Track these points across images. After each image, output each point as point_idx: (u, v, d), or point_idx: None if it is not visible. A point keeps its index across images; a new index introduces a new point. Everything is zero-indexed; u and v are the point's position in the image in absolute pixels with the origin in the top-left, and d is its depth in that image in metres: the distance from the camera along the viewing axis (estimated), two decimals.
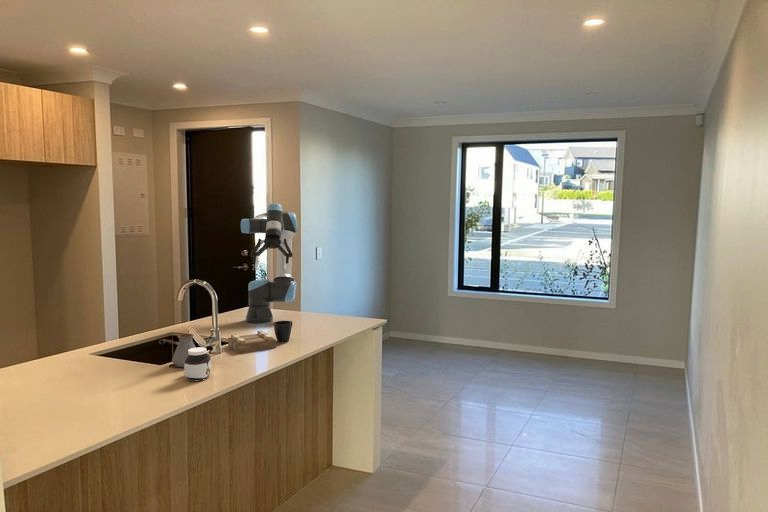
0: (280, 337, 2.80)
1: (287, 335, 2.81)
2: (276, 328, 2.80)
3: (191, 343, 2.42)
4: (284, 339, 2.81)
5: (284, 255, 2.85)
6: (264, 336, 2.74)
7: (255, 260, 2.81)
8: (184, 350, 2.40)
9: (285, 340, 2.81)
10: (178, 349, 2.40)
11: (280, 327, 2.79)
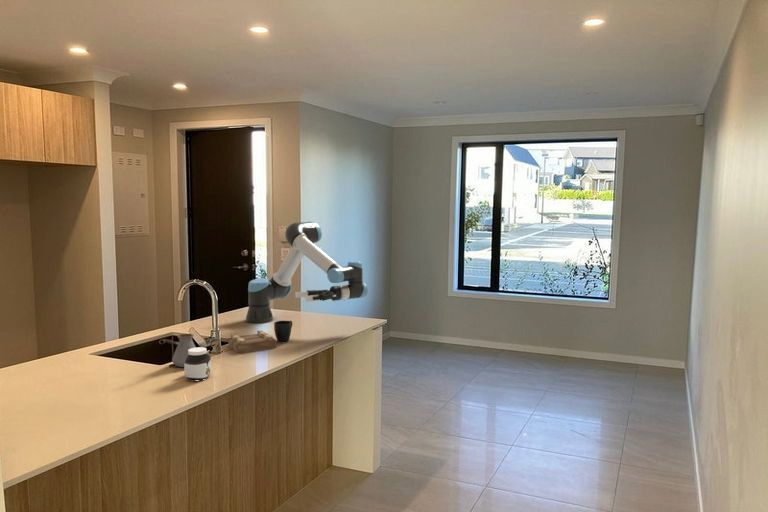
0: (280, 337, 2.80)
1: (287, 335, 2.81)
2: (276, 328, 2.80)
3: (191, 343, 2.42)
4: (284, 339, 2.81)
5: (310, 291, 2.97)
6: (264, 336, 2.74)
7: None
8: (184, 350, 2.40)
9: (285, 340, 2.81)
10: (178, 349, 2.40)
11: (280, 327, 2.79)
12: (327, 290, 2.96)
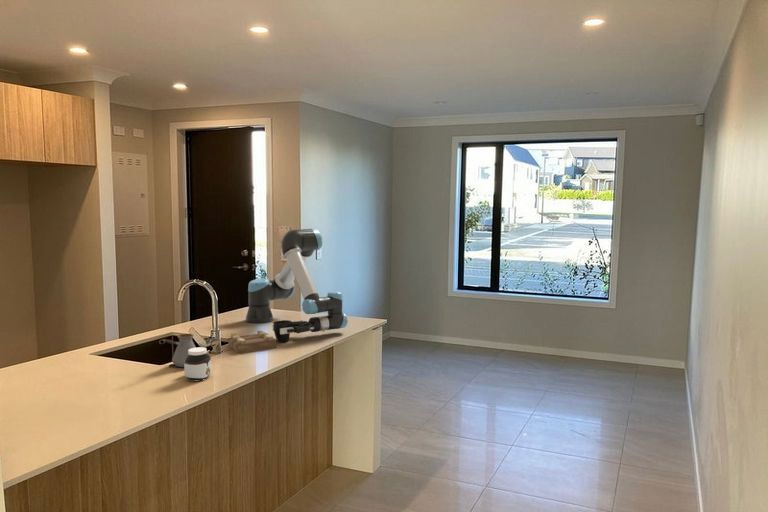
0: (280, 336, 2.80)
1: (287, 334, 2.81)
2: (275, 327, 2.80)
3: (191, 343, 2.42)
4: (284, 338, 2.81)
5: None
6: (264, 336, 2.74)
7: None
8: (184, 350, 2.40)
9: (285, 339, 2.81)
10: (178, 349, 2.40)
11: (279, 326, 2.79)
12: (306, 321, 2.92)
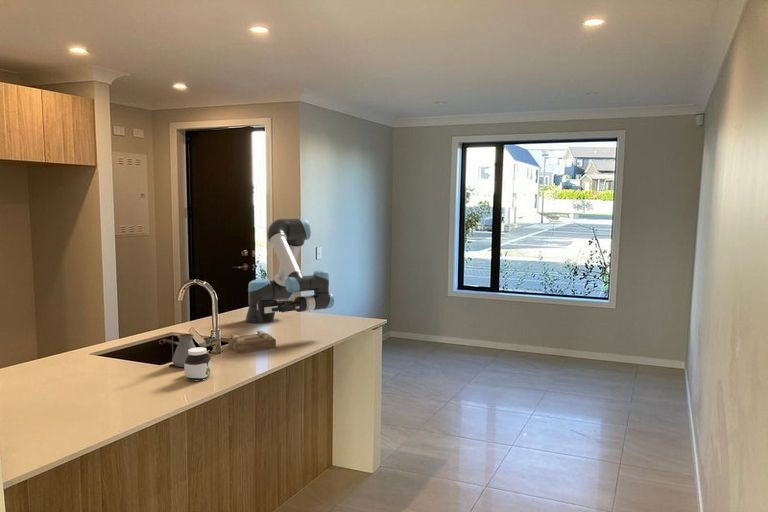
0: (264, 315, 2.72)
1: (271, 313, 2.73)
2: (260, 306, 2.72)
3: (191, 343, 2.42)
4: (269, 317, 2.73)
5: None
6: (264, 336, 2.74)
7: (273, 311, 2.72)
8: (184, 350, 2.40)
9: (270, 318, 2.73)
10: (178, 349, 2.40)
11: (264, 304, 2.71)
12: (292, 301, 2.84)
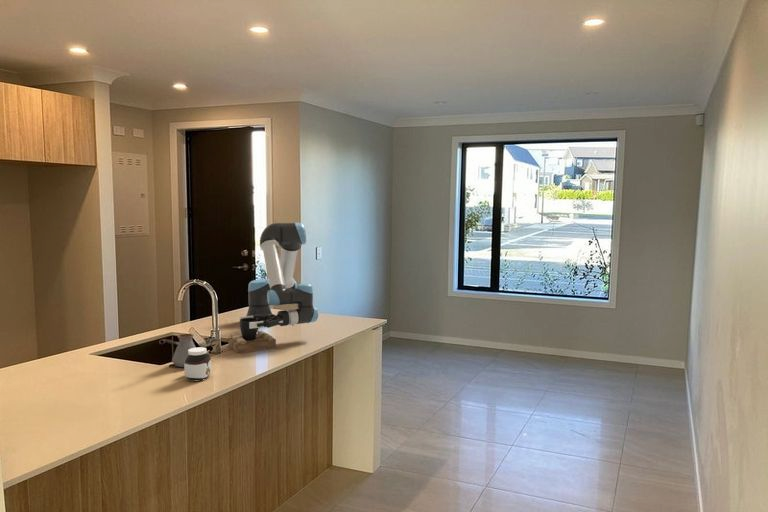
0: (246, 335, 2.68)
1: (253, 333, 2.69)
2: (241, 325, 2.68)
3: (191, 343, 2.42)
4: (250, 337, 2.69)
5: (256, 316, 2.80)
6: (264, 336, 2.74)
7: None
8: (184, 350, 2.40)
9: (251, 338, 2.69)
10: (178, 349, 2.40)
11: (245, 324, 2.67)
12: (274, 315, 2.79)
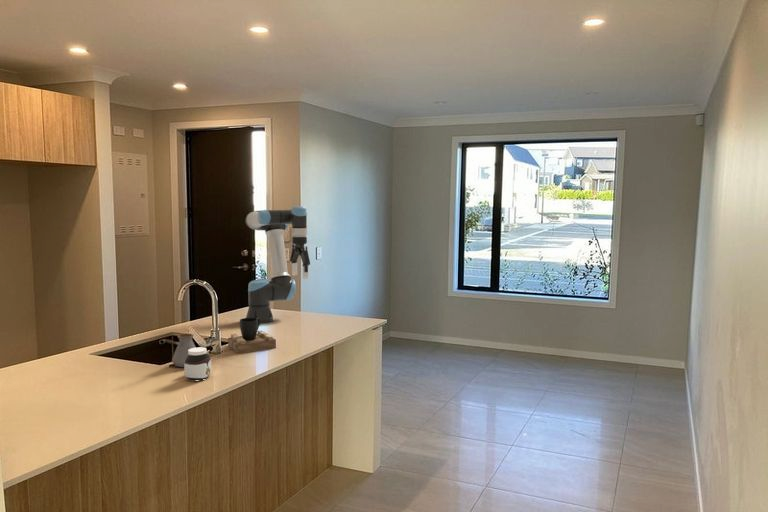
0: (246, 335, 2.68)
1: (253, 333, 2.69)
2: (241, 325, 2.68)
3: (191, 343, 2.42)
4: (250, 337, 2.69)
5: None
6: (264, 336, 2.74)
7: None
8: (184, 350, 2.40)
9: (251, 338, 2.69)
10: (178, 349, 2.40)
11: (245, 324, 2.67)
12: None
